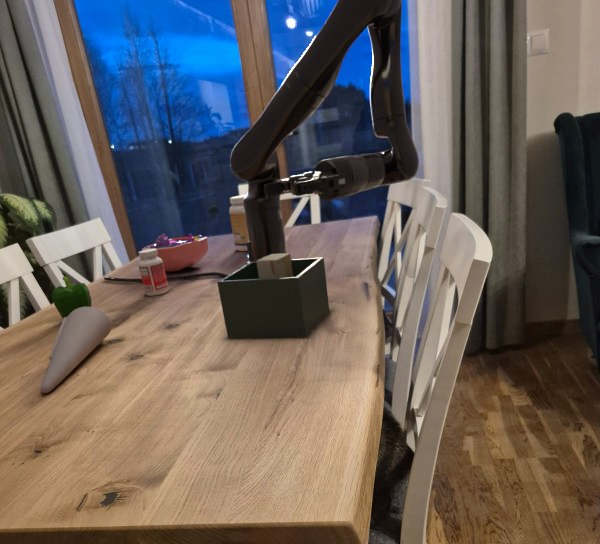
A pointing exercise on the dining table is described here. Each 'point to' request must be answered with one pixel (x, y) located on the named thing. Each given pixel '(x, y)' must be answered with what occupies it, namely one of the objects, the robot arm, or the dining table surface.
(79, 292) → the bell pepper
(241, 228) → the supplement tub
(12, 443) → the dining table surface
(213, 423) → the dining table surface
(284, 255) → the cosmetic box
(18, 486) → the dining table surface
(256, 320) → the trash bin
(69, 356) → the grey cone
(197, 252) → the cell model
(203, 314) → the dining table surface
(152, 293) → the pill bottle
